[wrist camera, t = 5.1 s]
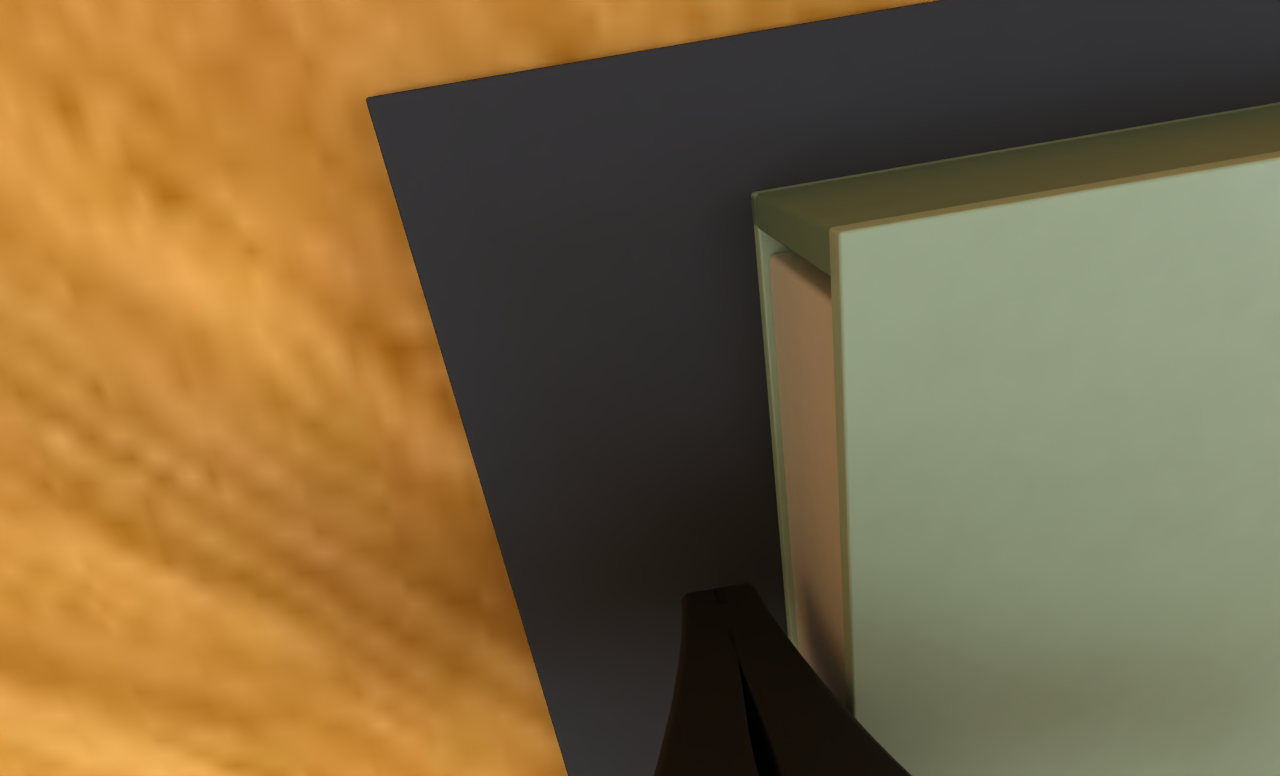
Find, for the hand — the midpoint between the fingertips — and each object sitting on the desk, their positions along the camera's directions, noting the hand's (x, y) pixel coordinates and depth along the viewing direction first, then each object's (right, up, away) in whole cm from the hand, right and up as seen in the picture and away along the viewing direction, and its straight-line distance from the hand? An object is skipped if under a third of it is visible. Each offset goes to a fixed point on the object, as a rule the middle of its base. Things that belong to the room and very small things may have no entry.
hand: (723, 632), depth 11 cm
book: (+6, +1, +1) cm, 6 cm away
